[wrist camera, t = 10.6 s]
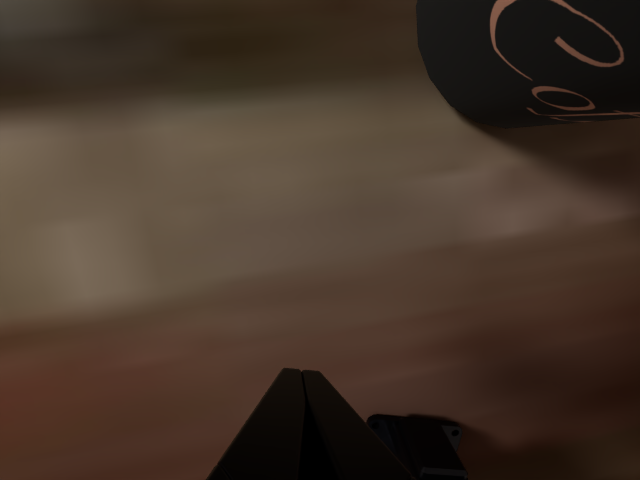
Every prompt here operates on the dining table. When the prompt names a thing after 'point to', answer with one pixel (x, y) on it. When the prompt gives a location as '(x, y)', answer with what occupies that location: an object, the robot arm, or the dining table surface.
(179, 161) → the dining table surface
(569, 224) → the dining table surface
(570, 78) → the coffee jar
